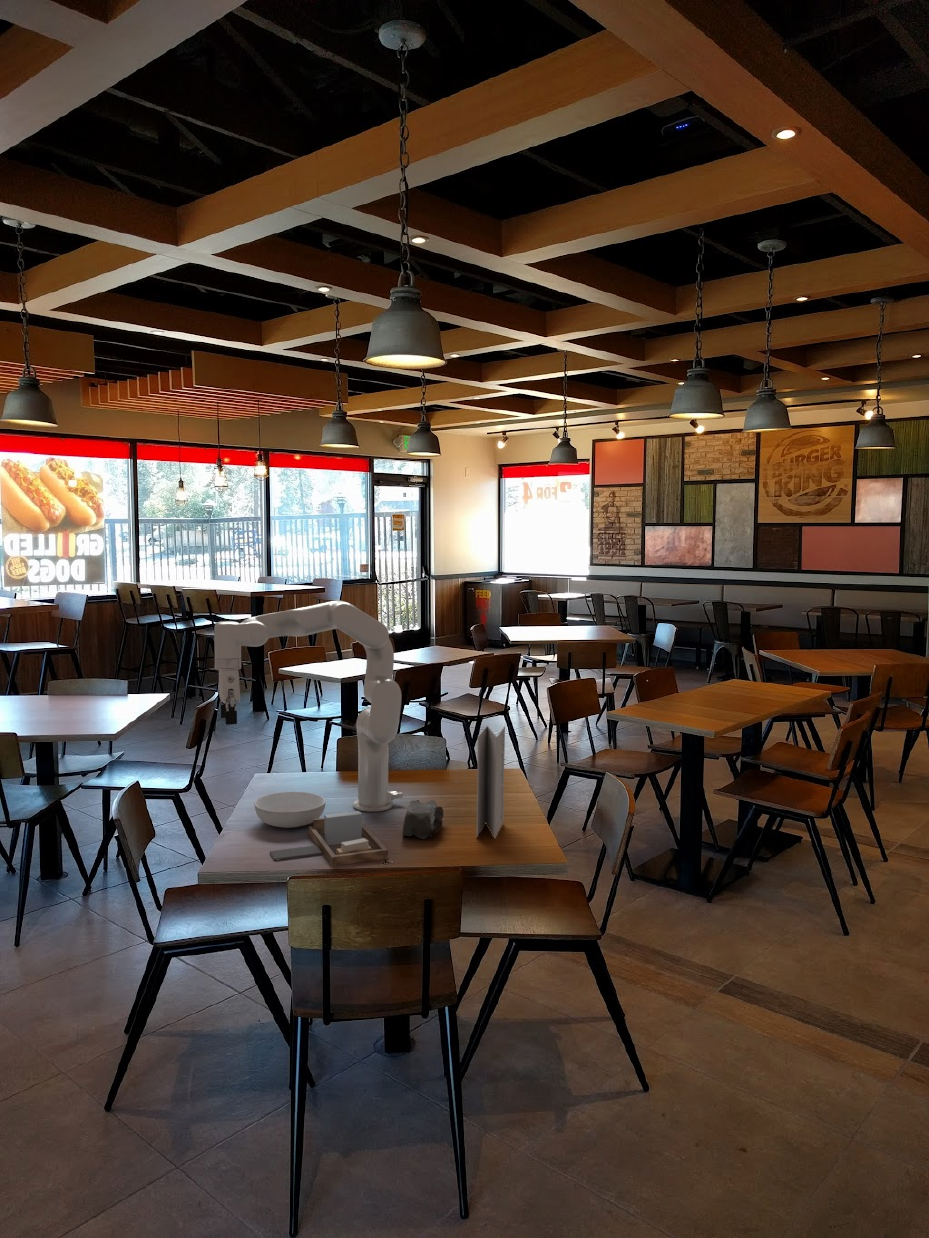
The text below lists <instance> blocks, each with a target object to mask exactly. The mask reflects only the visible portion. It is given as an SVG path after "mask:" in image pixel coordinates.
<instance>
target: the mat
mask: <svg viewBox="0 0 929 1238" xmlns="http://www.w3.org/2000/svg"><path fill="white" fill-rule="evenodd" d="M269 854H270V856H271V855H272V856H271V858H272V857H273V858H274V859H273V858H272V859H273V861H274V860H277V859H285V860H291V859H292V858H293V859H299V858H308V857H313V856H314V857H316V856H321V855H323V853H322V851H321V850H320V849H319V847H318V846H317V845H316V844H315V845H308V846H301V847H293V848H283V849H276V850H270V851H269ZM290 858H291V859H290ZM277 861H278V860H277Z"/></svg>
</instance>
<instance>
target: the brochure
mask: <svg viewBox="0 0 929 1238" xmlns="http://www.w3.org/2000/svg"><path fill="white" fill-rule="evenodd" d="M505 736H506V726H503V727H502V729H501V730H500V731H499V733H498V734H497V735H496V734H495V733H494V732H493V730H492V729H491V727H489V725H486V726H485V727H484V728H483V730H481V732H480V733H479V734H478V735H477V768H476V769H477V774H476V775H477V777H476V778H477V783H476V784H477V785H476V833H475V834H476V836H475V837H478V835H479V833H480V831H481V829H482V828H483V826H484V824H485V822H486V823H487V825H488V827H489V829H490V830H491V832H492V834H493V836H494V838H496V836H497V834H498V831H499V829H500V828H501V825H502V823H503V824H504V804H505V803H504V802H505V800H504V797H505V796H504V795H505V794H504V793H505V789H504V788H505V747H506V745H505V743H506V742H505V741H506V737H505ZM485 825H486V824H485ZM484 827H485V826H484ZM488 827H487V828H488ZM483 829H484V828H483ZM489 829H488V830H489ZM501 829H502V828H501ZM481 832H482V831H481ZM480 834H481V833H480ZM498 835H499V834H498ZM479 836H480V835H479ZM497 837H498V836H497ZM478 838H479V837H478ZM496 839H497V838H496Z"/></svg>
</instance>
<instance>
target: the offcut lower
mask: <svg viewBox="0 0 929 1238" xmlns="http://www.w3.org/2000/svg"><path fill="white" fill-rule="evenodd" d="M372 848H373V847H372V846H371V845H369V847H367V848H363V849H358V850H353V851H348V852H345V851H343V850H342V849H341V847H340V848H336V852H335V855H340V854H348V853H356V852H363V851H371V850H373V849H372Z"/></svg>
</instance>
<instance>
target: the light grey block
mask: <svg viewBox="0 0 929 1238" xmlns="http://www.w3.org/2000/svg"><path fill="white" fill-rule="evenodd" d="M323 818H324V828H325V834H324V841H325V842H326V844H327V845H328V846H335V845H341V843H342V842H347V841H352V840H357V839H362V838H363V835H362V823H363V822H362V821H363V820H362V819H363V814H362V812H361V811H360V810H353V811H345V812H336V813H329V814H328V813H327V814H324V817H323Z"/></svg>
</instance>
